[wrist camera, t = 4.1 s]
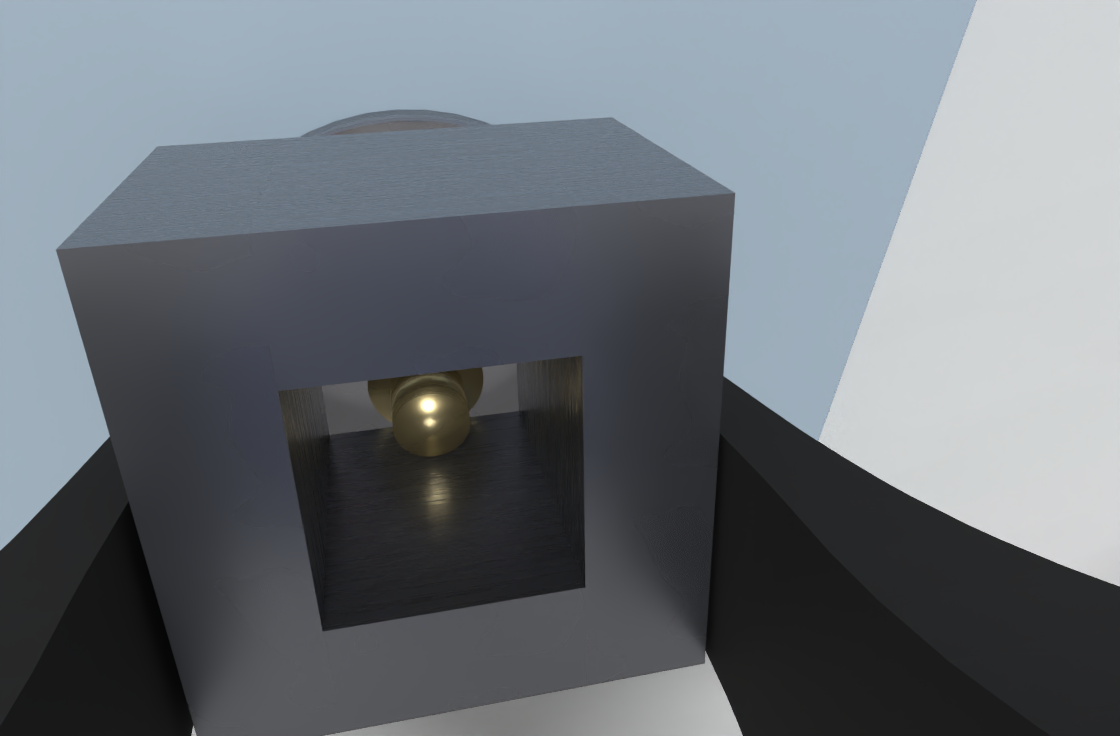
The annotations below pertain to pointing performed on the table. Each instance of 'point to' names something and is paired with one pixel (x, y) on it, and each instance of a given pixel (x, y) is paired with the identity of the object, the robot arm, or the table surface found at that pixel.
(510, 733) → the table surface
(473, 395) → the hub
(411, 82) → the board
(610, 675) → the collar
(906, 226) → the table surface
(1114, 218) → the table surface
